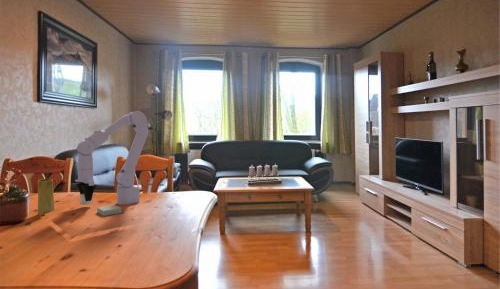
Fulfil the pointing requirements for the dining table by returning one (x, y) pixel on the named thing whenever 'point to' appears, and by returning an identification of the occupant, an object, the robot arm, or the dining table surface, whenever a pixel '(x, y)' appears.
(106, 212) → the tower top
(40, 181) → the vase
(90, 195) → the robot arm
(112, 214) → the tower base
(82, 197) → the white rounded dome
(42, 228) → the dining table surface
